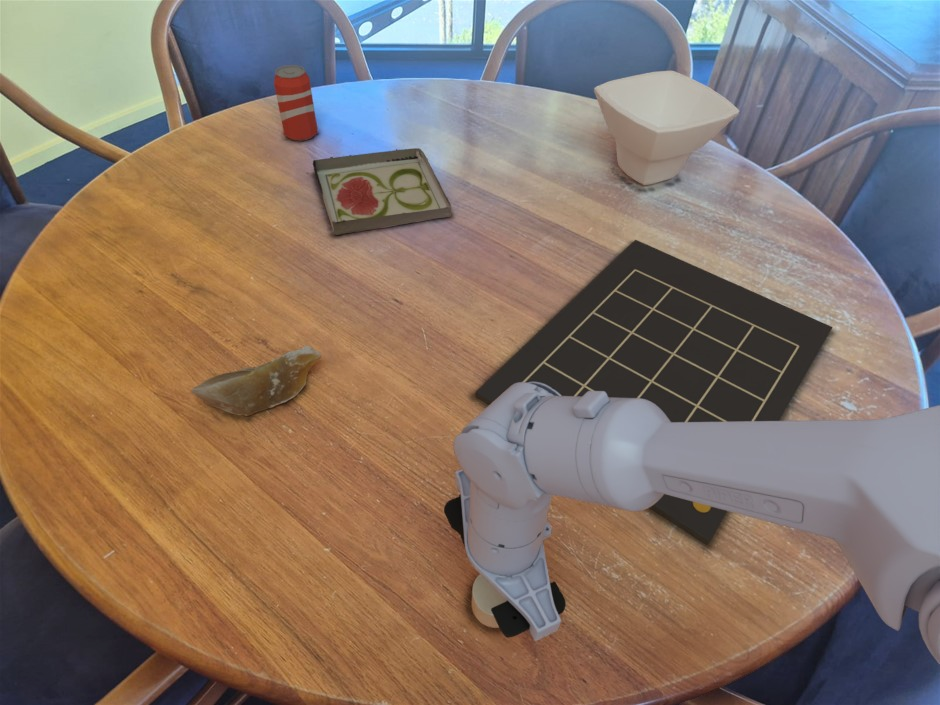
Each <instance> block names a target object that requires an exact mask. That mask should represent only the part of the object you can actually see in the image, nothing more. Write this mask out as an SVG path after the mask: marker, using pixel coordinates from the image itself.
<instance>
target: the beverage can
mask: <svg viewBox="0 0 940 705" xmlns="http://www.w3.org/2000/svg"><path fill="white" fill-rule="evenodd" d="M274 74H275V75H274V80H273V86H274V91H275V95H276V100H277V101H276V102H277V105H278V110H279V114H280V115H279V116H280V120H281V126H282V130H283V134H284V136H285V137H287V138H289V139H290V140H293V141H297V142H304V141H309V140H310V139H312V138H313V137H314V136H316V135H317V134H318V124H317V123H318V122H317V118H316V110H315V104H314V99H313V91H312V86H311V81H310V80H311V79H310V76H309V75H308V74H307V72H306V70H305V67H303V66H301V65H297V64H288V65H281V66H279V67H278V68H276V69H275V73H274Z"/></svg>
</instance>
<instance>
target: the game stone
mask: <svg viewBox="0 0 940 705" xmlns="http://www.w3.org/2000/svg"><path fill="white" fill-rule="evenodd" d="M471 591H472V592H471V609H472V613H473V615H474V617H475V618H476V620H478V622H480V624H482V625H484V626H485V627H488V628H492V629H493V628H494V629H500V628H499V626H498V624H497V622H496V620H495V618H494V616H493V614H492V611H491V608H493V607H495V606H497V605H499V604H502V603H504V602H506V601H508V600H507V599H506V598H505V597H504V596H502V595H501V594H500V593H499V592H498V591H497V590H496V589H495V588H494V587H493V586H492V585H491V584H490V583H489V582H488V581H487V580H486V579H485V578H484V577H483V576H482V575H481V574H480V573H478V575H477V576H476V578H475V580H474V581H473V584H472V590H471Z"/></svg>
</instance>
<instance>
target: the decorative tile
mask: <svg viewBox="0 0 940 705" xmlns="http://www.w3.org/2000/svg"><path fill="white" fill-rule="evenodd" d="M312 166H313V171H314V174H315V177H316V180H317V183H318V186H319V189H320V193H321V196H322V199H323V203H324V206H325V209H326V213H327V215H328V216H327V217H328V219H329V221H330V222H329V223H330V226H331V228H332V234H333V235H335V236H340V235H345V234H353V233H358V232H364V231H370V230H371V231H372V230H379V229H383V228H385V229H386V228H390V227H391V228H392V227H396V226H401V225H407V224H412V223H419V222H424V221H430V220H436V219H442V218H443V219H444V218H449V217H451V216H452V208H451V206H452V204H451V202H450V201H449V198H448V197H447V195H446V193H445V191H444V188H442V186H441V183H440V181H439V179H438V178H437V176H436V173H435V171H434V169H433V168H432V166H431V164H430V162H429V159H428V157H427V156H426V154H425V152H424V151H423V150H422V149H421V148H419V147H415V148H405V149H397V148H396V149H394V150H388V151H387V150H386V151H379V152H378V151H377V152H370V153H369V152H368V153H363V154H362V153H361V154H360V153H359V154H350V155H344V156H343V155H342V156H337V157H334V156H329V158H328V157H327V158H320V159H313V160H312Z"/></svg>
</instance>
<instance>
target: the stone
mask: <svg viewBox="0 0 940 705" xmlns="http://www.w3.org/2000/svg"><path fill="white" fill-rule="evenodd" d="M321 358H322V353H321V352H320V351H317V350H316V349H315V348H313V347H311V346H310V345H305V346H303V347H301V348H299V349H295V350H291V351H289V352H285V353H284V354H283V355H280V356H279V357H277V358H274V359H272V360H271V361H268V362H267V363H264V364H259V365H257V366H249V367H245V368H242V369H239V370H236V371H232V372H225V373H221V374H217V375H215V376H212V377H210V378H208V379H205V380H204V381H203V382H201V383H200V384H199V385H196V386H195V387H193V388H192V389H191V390H190V392H191V394H193V395H194V396H195V397H196V398H198V399H199V400H201V401H202V402H204V403H205V404H207V405H208V406H210V407H212V408H213V407H214V408H215V409H219V410H221V411H223V412H226V413H229V414H232V415H236V416H245V417H248V416H252V415H254V414H256V413H258V412H261V411H265V410H268V409H272V408H274V407H276V406H278V405H281V404H285V403H287V402H288V401H290V400H292V399H293V398H296V397H297V396H298V394H299V393H300V392H301V391H302V390H303V388H304V387H305V386H306V385H307V376H308V373H309V372H310V371H311V370H312V368H313V367H314V365H315V364H316V363H317V362H318V361H319V360H320V359H321Z"/></svg>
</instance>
